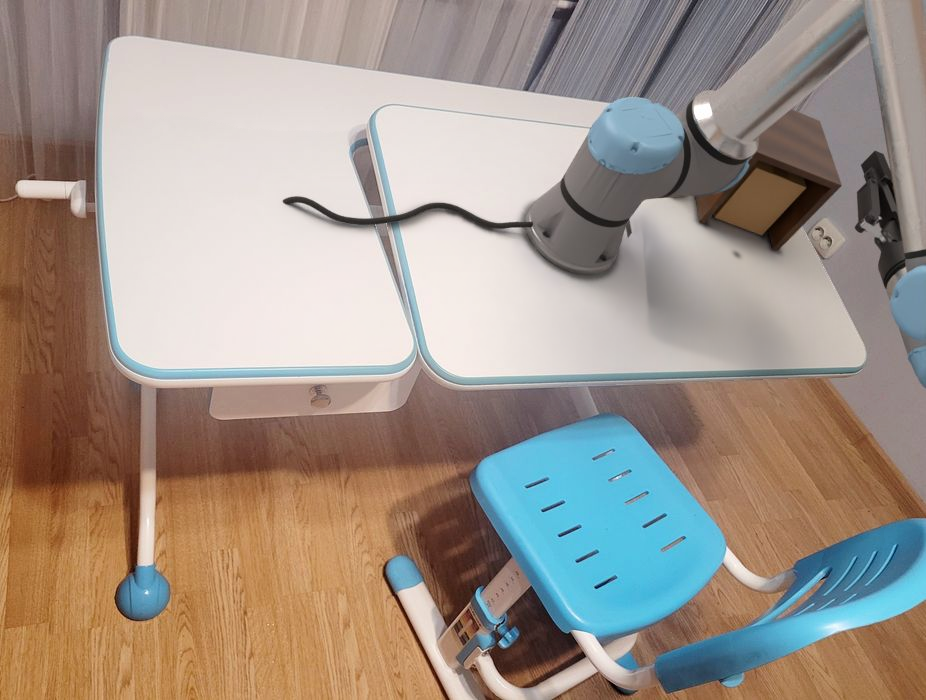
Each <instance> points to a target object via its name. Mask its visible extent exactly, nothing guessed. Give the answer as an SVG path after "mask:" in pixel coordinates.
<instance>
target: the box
mask: <svg viewBox="0 0 926 700" xmlns="http://www.w3.org/2000/svg"><path fill="white" fill-rule="evenodd" d="M805 189H806V184H805V181H804V178H803V177H801V176H798V175H796V174H793V173H791V172H788V171H786V170H783V169H781V168H778V167H775V166H773V165H770V164H768V163H765V162H763V161H760V160H758V161H757V162H756V164H755V165H754V166H753V167H752V168H751V170H750V171H749V172H748V173H747V174H746V176H745V177H744V178H743V179H742V180H741V182H740V183H739V184H738V185H737V186H736V188H735V189H734V190H733V191H732V192H731V193H730V195H729V196H728V197H727V198H726V199H725V201H724V202H723V203H722V204H721V205H720V207H719V208H718V209H717V210H716V211H715V213H714V214H713V217H714V218H715V219H717V220H720V221H723V222H724V223H728V224H730V225H733V226H736V227H739V228H740V229H743V230H746V231H749V232H752V233H754V234H757V235H760V236H763V235H764V234H765V233H766V232H767V231H768V228H769V227H770V226H771V225H772V224H773V223H774V222H775V221H776V220H777V219H778V218H779V217H780V216H781V214H782V213H783V212H784V211H785V210H786V209H787V208H788V207H789V206H790V205H791V204H792V203H793V202H794V201H795V199H796V198H797V197H798V196H799V195H800V194H801V193H802V192H803V191H804V190H805Z"/></svg>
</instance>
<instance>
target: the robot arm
mask: <svg viewBox="0 0 926 700" xmlns="http://www.w3.org/2000/svg"><path fill="white" fill-rule="evenodd" d="M868 45H869V48H870V49H869V50H870V54H871V61H872V67H873V73H874V77H875V78H874V80H875V85H876V92H877V97H878V102H879V104H878V105H879V109H880V114H881V115H880V117H881V120H882V127H883V133H884V139H885V145H886V146H885V147H886V150H887V151H886V152H887V157H888V160H887V159H886V156H885V154H884V153H882V152H879V151H877V150H873V152H872V153H870V155H869V156H868V157H866V158H865V160H864V161H863V162H862V163H861V164H860V166H861V169H862V172H863V178H864V180H865V183H864V184H863V185H862V186H861V187H860V188H859V189H858V190H857V191H856V201H857V203H856V204H857V223H856V224H855V226H854V229H855V231H856V232H858V233H859V234H863V233H864V232H865V233H869V234H870V235H872V236H873V237H874V238H873V241H874V244H875V245H876V247H877V248H878V249H879V251H880V254H879V259H878V263H877V269H878V273H879V275H880V278H881V281H882V284H883V286H884V289H885V290H886V295H887V297H888V300H889V304H890V305H889V306H890V312H891V316H892V318H893V320H894V322H895V324H896V326H897V327H898V329H899V333H900V335H901V338H902V342H903V345H904V348H905V351H906V354H907V360H908V362H909V363H910V365H911V367H912V370H913V372H914V374H915V376H916V379H918V383H920V384H921V387H923V388H924V389H926V0H809V1H808V2H807V3H806V4H805V5H804V6H803V7H802V8H801V9H800V10H799V11H798V12H797V13H796V14H795V15H793V17H791V18H790V19H789V20H788V21H787V22H786V23H785V24H784V25H783V26H782V28H780V29H779V30H778V31H777V32H776V33H775V34H773V36H772V37H771V38H770V39H769V40H768V41H767V42H766V43H765V44H764V45H763V46H762V47H761V48H759V50H758V51H757V52H755V54H754V55H752V56H751V57H750V59H748V60H747V61H746V62H745V63H744V64H743V65H742V66H741V67H740V68H739V69H738V70H736V72H735V73H734V74H733V75H732V76H731V77H730V78H728V79H727V81H726V82H724V83H723V84H722V86H720V87H719V88H718V89H717V90H711V89H709V90H708V89H707V90H703V91H701V92H699V93H698V94H697V95H696V96H694V97H693V99H691V100H690V102H689V103H687V104H686V106H684V108H682V109H681V110H680V111H679V112H678V113H676V114H675V113H674V112H673V111H671V109H669V108H668V107H666V106H664V105H663V104H661V103H659V102H656V103H653V102H652V101H651V99H648V98H646V97H645V98H644V97H640V96H639V97H638V96H627V97H622V98H619V99H616V100H614V101H612V102H611V103H609V104H608V105H607V106H606V107H605V108H604V109H603V111H602V112H601V113H600V115H599V116H598V117H597V119H595V120H594V122H593V123H592V125H591V126H590V128H589V131H588V133H587V135H586V136H585V138H584V140H583V141H582V143H581V145H580V147H579V149H578V150H577V152H576V154H575V156H574V157H573V158H572V161H571V162H570V164H569V166H568V168H567V169H566V171H565V173H564V174H563V176H562V178H561V180H560V181H558V182H557V183H556V184H555V185H554V186H552V187H551V188H550V189H548V190H547V191H546V192H544V193H543V194H542V195H541V196H540V197H538V198H537V199H536V200H535V201H534V202H533V204H532V205H531V207H530V208H529V210H528V211H527V214H526V217H525V221H508V222H494V221H489V220H486V219H484V218H482V217H479V216H477V215H476V214H473V213H472V212H470V211H468V210H466V209H465V208H462V207H460V206H458V205H455V204H453V203H447V202H429V203H427V204H426V203H425V204H423V205H421V206H418V207H416V208H415V209H411V210H410V211H406V212H404V213H400V214H395V215H387V216H381V217H370V218H368V217H367V218H366V217H365V218H362V217H361V218H359V217H350V216H344V215H340V214H338V213H335V212H333V211H331V210H330V209H328V208H326V207H325V206H324V205H322V204H320V203H318V202H317V201H315V200H313V199H311V198H308V197H305V196H300V195H299V196H298V195H296V196H288V197H286V198H284V199H282V203H283V204H284V205H291V204H304V205H307V206H309V207H311V208H313V209H314V210H316V211H318V212H319V213H321V214H322V215H324V216H325V217H327V218H329V219H332V220H333V221H336V222H339V223H343V224H347V225H357V226H373V225H383V224H390V223H396V222H401V221H405V220H408V219H411V218H413V217H416V216H417V215H420V214H422V213H424V212H427V211H430V210H436V209H439V210H440V209H443V210H448V211H452V212H455V213H456V214H459V215H461V216H464V217H465V218H467V219H469V220H471V221H473V222H474V223H475V224H479V225H481V226H484V227H486V228H489V229H490V228H491V229H495V230H503V229H519V228H522V229H523V228H525V230H526V233H527V235H528V238H529V240H530V242H531V244H532V245H533V246H534V248H535V249H536V250H537V251H538V253H540V255H542V256H543V257H544V258H545V259H546V260H547V261H549V262H550V263H551V264H553V265H554V266H557V267H558V268H560V269H562V270H565V271H567V272H570V273H573V274H577V275H583V276H593V275H598V274H601V273H604V272H605V271H607V270H608V269H609V268H610V267H611V266H612V264H613V263H614V262H615V260H616V259H617V257H618V255H619V252H620V248H621V245H622V242H623V238H624V235H625V232H626V236H627V238H629V237H630V236H631V234H632V233H633V232H632V227H631V221H630V219H631V218H632V217H633V215H634V214H635V212H636V211H638V209H639V207H640V206H641V204H642V203H643V202H644V201H646V200H655V199H668V198H681V197H696V196H708V195H711V194H716V193H719V192H722V191H725V190H727V189H729V188H731V187H732V186H734V185H735V184H736V183H737V182H738V181H739V180H740V179H741V178H742V177H743V176H744V174H745V173H746V171H747V170H748V168H749V164H748V162H749V159H751V158H752V156H753V155H754V154H755V152H756V151H757V149H758V145H759V136H760V135H761V134H762V133H763V132H765V131H766V130H767V129H768V128H769V127H771V126H772V125H773V124H774V123H775V122H776V121H778V120H779V119H780V118H781V117H782V116H784V115H785V114H786V113H787V112H788V111H789V110H791V109H792V110H793V108H794V107H795V106H797V105H798V104H799V103H800V102H801V101H803V100H804V99H805V98H806V97H807V96H808V95H811V93H812V92H814V90H816V89H817V88H818V87H820V85H822V84H823V83H824V82H825V81H826V80H828V79H829V78H830V77H831V76H832V75H833V74H834V73H836V72H837V71H838V70H840V69H841V68H842V67H843V66H844V65H845V64H846V63H848V62H849V61H851V59H852V58H853V57H855V56H856V55H857V54H859V53H860V52H861V51H862V50H863V49H865V47H867V46H868ZM887 161H888V162H887ZM888 163H889V164H888ZM625 230H626V231H625Z"/></svg>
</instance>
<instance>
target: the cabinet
mask: <svg viewBox="0 0 926 700" xmlns="http://www.w3.org/2000/svg"><path fill="white" fill-rule="evenodd" d="M758 160H760V161H763V162H765V163H768V164H770V165H773V166H775V167H778V168H781V169H783V170H786V171H788V172H791V173H793V174H796V175H798V176H801V177H803V178H804V181H805V184H806V189H805V190H804V191H803V192H802V193H801V194H800V195H799V196H798V197H797V198H796V199H795V201H794V202H793V203H792V204H791V205H790V206H789V207H788V208H787V209H786V210H785V211H784V212H783V213H782V214H781V216H780V217H779V218H778V219H777V220H776V221H775V222H774V223H773V224H772V225H771V226H770V227H769V228H768V229H767V231H768V234H769V239H770V242H771V249H772V250H774V251H778V252H779V250H781V249H782V247H783V246H784V245H786V243H788V241H789V240H791V239H792V237H794V235H795V234H796V233H797V232H799V230H800V229H801V228H803V226H804V225H805V224H806V223H807V222H808V221H809V220H810V219H811V218H812V217H813V216H814V215H815V214H816V213H817V212H818V211H819V210H820V209H821V208H822V207H823V206H824V205H825V204H826V203H827V202H828V201H829V200H830V199H831V198H832V196H834V195H835V193H836V192H837V191H838V190H840V188H841V187H842V186H843V185H842V182H841V178H840V176H839V173H838V170H837V167H836V165H835V161H834V158H833V155H832V152H831V149H830V146H829V143H828V140H827V138H826V135H825V132H824V128H823V126H822V123H821V121H820V120H818V119H816V118H813V117H811V116H809V115H807V114H804V113H802V112H799V111H797V110H795V109H793V108H792V109H791V110H789V111H788V112H787V113H786V114H785V115H784V116H782V117H781V118H780V119H779V120H778V121H776V122H775V123H774V124H773V125H772V126H771V127H769V128H768V129H767V130H766V131H765V132H763V133H762V134H761V135H760V136H759V145H758V149H757V151H756V152H755V154H754V155H753V156H752V158H751V159H749V162H748V164H749V168H748V170H747V171H746V173H745V174H744V176H743V177H742V178H741V179H740V180H739V181H738V182H737V183H736V184H735V185H734V186H732V187H731V188H729V189H727V190H725V191H722V192H719V193H716V194H711V195H708V196H695V201H696V202H695V203H696V209H697V216H698V222H699V223H701V224H704V225H706V224H707V223H708V221H709V220H710V218H712V216H714V213H715V211H716V210H717V209H718V208H719V207H720V205H721V204H722V203H723V202H724V201H725V199H726V198H727V197H728V196H729V195H730V193H731V192H732V191H733V190H734V189H735V188H736V186H737V185H738V184H739V183H740V182H741V180H742V179H743V178H744V177H745V176H746V174H747V173H748V172H749V171H750V170H751V168H752V167H753V166H754V165H755V164H756V162H757V161H758Z"/></svg>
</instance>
